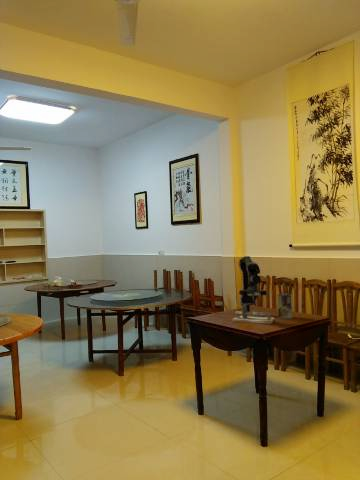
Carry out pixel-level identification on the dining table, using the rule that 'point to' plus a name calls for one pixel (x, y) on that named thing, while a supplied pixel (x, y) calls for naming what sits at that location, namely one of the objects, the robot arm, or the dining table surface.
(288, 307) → the coffee box
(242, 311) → the dark angular block
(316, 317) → the dining table surface
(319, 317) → the dining table surface
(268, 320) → the pipe stand
